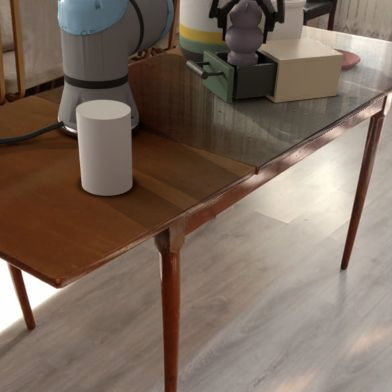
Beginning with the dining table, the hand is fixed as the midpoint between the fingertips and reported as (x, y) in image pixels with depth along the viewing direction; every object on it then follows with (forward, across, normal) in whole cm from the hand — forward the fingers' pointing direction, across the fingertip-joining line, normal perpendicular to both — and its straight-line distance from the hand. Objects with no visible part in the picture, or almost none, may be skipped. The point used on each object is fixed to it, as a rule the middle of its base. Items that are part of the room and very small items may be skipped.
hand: (244, 36), depth 132 cm
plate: (+24, +22, +8) cm, 34 cm away
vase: (+20, -7, +5) cm, 22 cm away
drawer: (+4, -1, -10) cm, 11 cm away
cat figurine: (+1, 0, -6) cm, 6 cm away
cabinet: (+9, +11, -6) cm, 16 cm away
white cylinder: (-28, -20, -44) cm, 56 cm away
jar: (+21, +8, +6) cm, 24 cm away
